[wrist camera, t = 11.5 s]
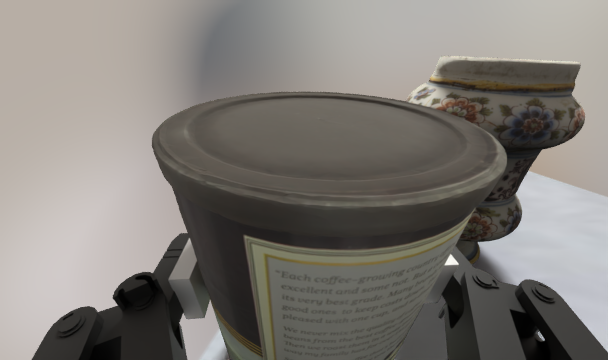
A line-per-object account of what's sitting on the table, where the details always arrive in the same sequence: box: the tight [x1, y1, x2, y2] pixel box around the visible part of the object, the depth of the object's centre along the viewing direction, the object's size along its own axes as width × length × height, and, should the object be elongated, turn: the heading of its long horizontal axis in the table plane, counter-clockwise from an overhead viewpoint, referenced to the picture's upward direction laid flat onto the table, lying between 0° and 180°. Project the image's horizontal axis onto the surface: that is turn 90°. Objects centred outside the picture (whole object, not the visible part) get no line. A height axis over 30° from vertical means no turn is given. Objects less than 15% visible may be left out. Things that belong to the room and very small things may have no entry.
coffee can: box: [152, 92, 507, 360], centre depth 11 cm, size 10×10×14 cm
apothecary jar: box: [406, 56, 585, 264], centre depth 21 cm, size 12×12×18 cm
